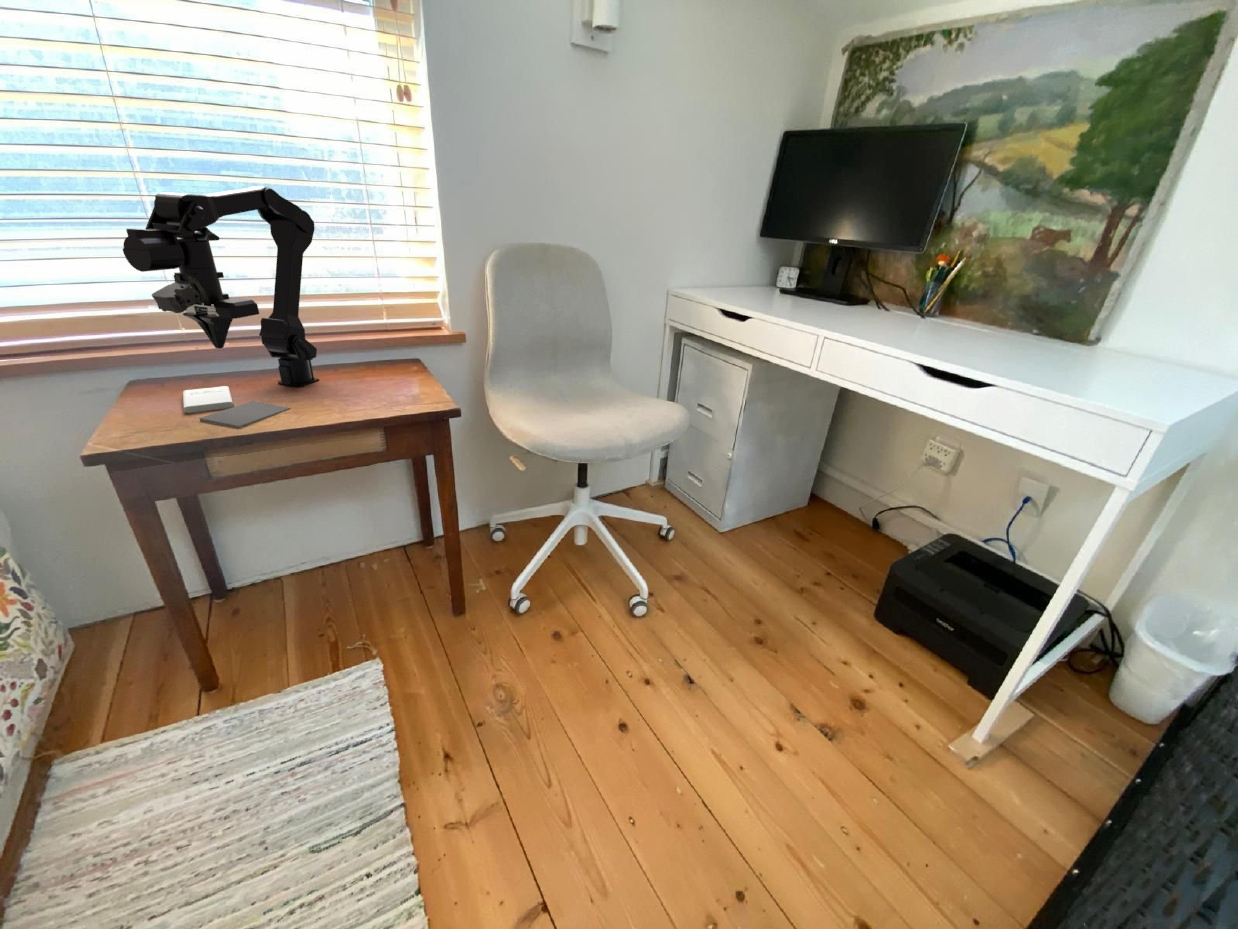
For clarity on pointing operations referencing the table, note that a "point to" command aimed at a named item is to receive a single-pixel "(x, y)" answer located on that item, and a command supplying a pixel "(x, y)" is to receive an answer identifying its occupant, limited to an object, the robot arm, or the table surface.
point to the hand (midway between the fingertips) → (219, 348)
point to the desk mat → (244, 414)
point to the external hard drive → (207, 399)
